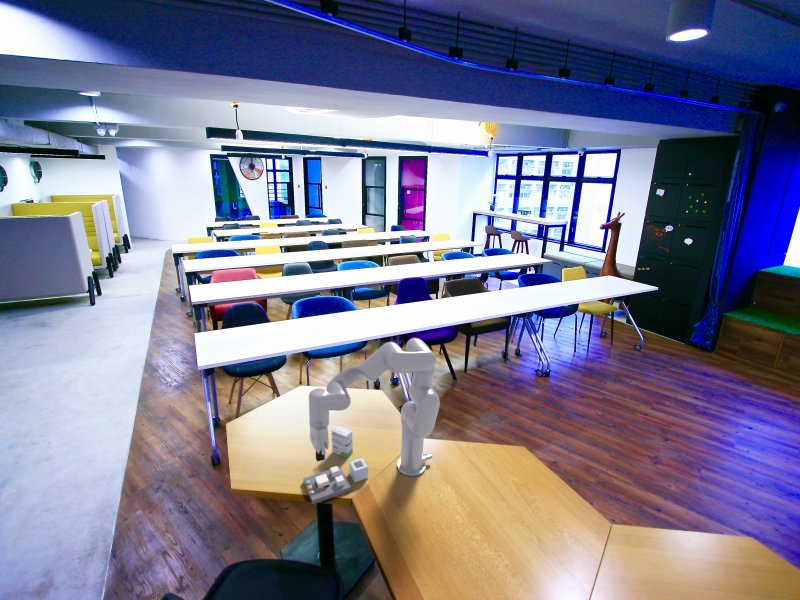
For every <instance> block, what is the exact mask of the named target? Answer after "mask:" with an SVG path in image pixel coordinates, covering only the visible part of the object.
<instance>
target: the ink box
mask: <svg viewBox="0 0 800 600" xmlns="http://www.w3.org/2000/svg"><path fill="white" fill-rule="evenodd" d="M353 447H354V445H353V431H352V430H350V429H348V428H345V427H343V426H340V425H337V426H336V427H334V428H333V429H332V430H331V451H332V453H333V454H336V455H339V456H340V457H343V458H346V459H348V458H349V457H350V456H351V455H352V454H353V453H354V452H353V451H354V450H353V449H354V448H353Z"/></svg>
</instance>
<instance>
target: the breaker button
mask: <svg viewBox="0 0 800 600" xmlns="http://www.w3.org/2000/svg"><path fill="white" fill-rule="evenodd" d="M315 481H316V484H317V485H316V487H317V489H320V488H324V487H326V486H328V485H329V480H328V478H327V476H326V474H323V475H320V476H317V477H315Z"/></svg>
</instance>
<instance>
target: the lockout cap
mask: <svg viewBox="0 0 800 600" xmlns="http://www.w3.org/2000/svg"><path fill="white" fill-rule="evenodd" d="M348 469H349V475H350V477H351V479H352V480H353V482H354V483H358V482H360V481H363V480H366V479H368V478H369V466H368V464H367V463H366V460H365V459H364V458H363V457H361V458H358V459H354V460H351V461H349V468H348Z"/></svg>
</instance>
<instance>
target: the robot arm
mask: <svg viewBox="0 0 800 600" xmlns="http://www.w3.org/2000/svg"><path fill="white" fill-rule="evenodd" d="M436 363H437V358H436V355H435V353H434V351H432V350H431V349H430V348H429V346H428V345H427V344H426V343H425V342H424V341H423V340H422V339H420V338H417V337H411V338H410V339H409V340H408V341H407V342H406V344H405V351H404V350H403V349H402V348H401V346H399V344H397V343H395V342H394V341H388V342H385V343H383V345H381V346H380V347H379V348H378V349H376V350H375V351H374V352H373V353H372V354H371V355H369V356H368V357H367V358H366V359H365V360H364V361H362V362H360V363H359V364H357V365H353V366H351V367H348V368H346V369H343V370H341V371H340V372H339V373H338V374H337V375H335V376H334V377H333V378H332V379H331V380H330V381H329V382H328V383H327V384H326V388H323V387H321V388H320V387H319V388H314V389H312V390H310V392H309V394H308V412H309V413H308V415H309V418H308V419H309V420H308V421H309V439H310V440H309V441H310V442H311V445H312V447H313V448H314V450H315V460H316V462H322V461H325V459H326V457H325V455H326V452H327V450H328V449H329V443H330V441H329V428H328V427H329V425H330V411H344V410H346V409H348V408H349V407H350V405H351V402H352V401H351V397H350V394H349V392H348V390H347V389H348V388H349V387H350V386H352V384H354V383H355V382H356V383H357V382H358V381H369V382H375V381H376V380H378V378H380V377H381V376H382V375H383V374H385V373H386V372H387V371H388V370H389V371H390V372H392V373H395V374H412V378H411V382H410V385H409V388H408V389H409V390H408V395H409V398H410V400H409V401H406V402H405V403H404V404H403V405H402V407H401V410H400V421H401V422H400V423H401V446H400V447H401V448H400V458H398V460H397V462H396V463H397V464H396V467H397V470H398V472H400V473H401V474H402V475H405V476H408V477H417V476H420V475H421V474H423V473H424V472H425V471H426V469H427V468H426V466H427V464H426V462H427V461H429V460H432V459H433V456H432V454H427V452H424V441H425V438H427V437H428V436H430V435H431V434H432V432H433V430H434V427H435V424H436V420H437V417H438V413H439V410H440V405H441V403H440V397H439V396H438V395H439V394H437V392H436V391H435V390H434V389H433V382H434V376H435V371H436Z"/></svg>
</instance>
